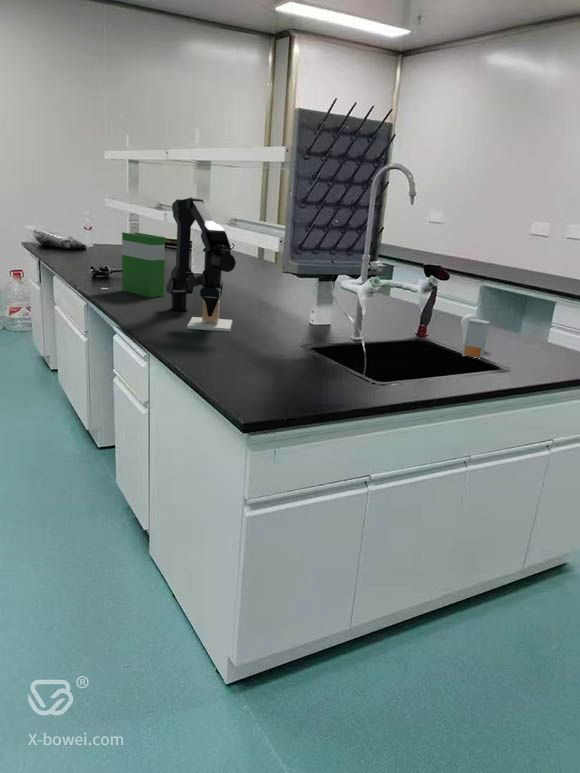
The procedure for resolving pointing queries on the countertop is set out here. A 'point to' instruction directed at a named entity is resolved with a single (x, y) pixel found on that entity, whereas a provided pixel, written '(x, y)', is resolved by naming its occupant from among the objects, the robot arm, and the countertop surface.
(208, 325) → the post stand
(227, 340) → the countertop surface
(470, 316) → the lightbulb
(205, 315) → the tan wooden brick
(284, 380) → the countertop surface
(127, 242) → the hardback book
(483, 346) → the skincare box
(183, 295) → the robot arm
